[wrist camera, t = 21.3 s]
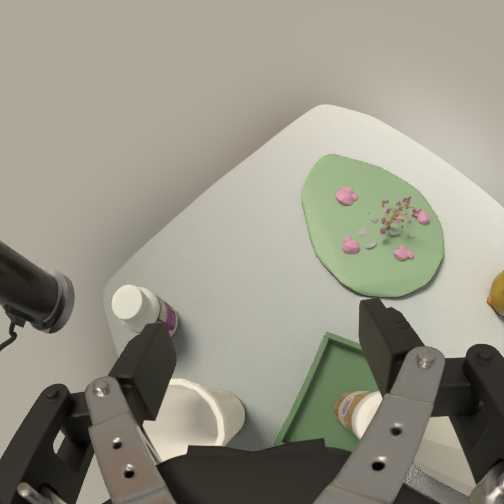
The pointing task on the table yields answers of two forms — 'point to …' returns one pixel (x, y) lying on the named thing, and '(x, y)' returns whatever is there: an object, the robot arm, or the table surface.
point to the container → (444, 456)
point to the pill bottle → (142, 309)
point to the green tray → (328, 394)
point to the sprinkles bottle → (357, 410)
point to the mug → (497, 294)
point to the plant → (371, 227)
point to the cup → (194, 418)
